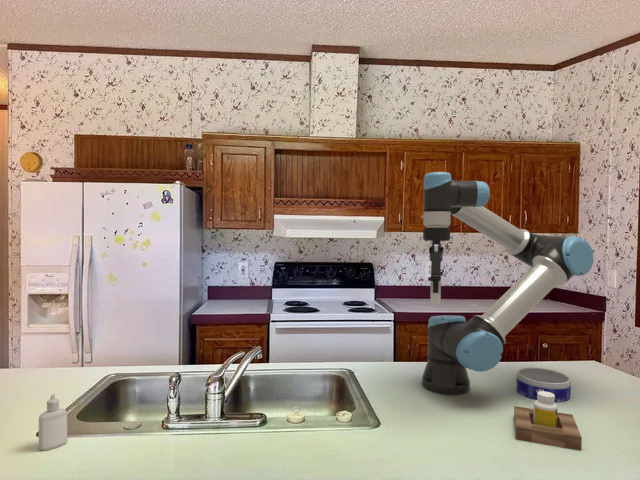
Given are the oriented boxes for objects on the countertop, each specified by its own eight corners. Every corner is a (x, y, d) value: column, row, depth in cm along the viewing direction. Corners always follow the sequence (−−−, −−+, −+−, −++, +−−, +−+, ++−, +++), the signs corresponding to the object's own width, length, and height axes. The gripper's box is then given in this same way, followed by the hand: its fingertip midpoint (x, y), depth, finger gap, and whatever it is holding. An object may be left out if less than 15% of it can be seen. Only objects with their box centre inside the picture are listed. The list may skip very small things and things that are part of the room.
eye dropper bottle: (65, 448, 103) (64, 396, 103) (36, 452, 101) (36, 399, 101) (68, 439, 107) (68, 390, 107) (41, 443, 105) (41, 392, 105)
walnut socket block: (514, 416, 123) (514, 406, 123) (572, 425, 118) (572, 414, 118) (516, 439, 110) (516, 427, 110) (581, 450, 105) (581, 437, 105)
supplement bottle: (559, 437, 111) (560, 398, 111) (536, 435, 112) (537, 396, 112) (553, 428, 116) (554, 390, 116) (530, 426, 117) (531, 389, 117)
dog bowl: (569, 390, 144) (570, 371, 144) (571, 407, 131) (571, 386, 131) (518, 382, 151) (518, 364, 151) (514, 397, 138) (515, 378, 138)
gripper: (424, 226, 142) (423, 293, 142) (421, 226, 118) (420, 307, 118) (449, 226, 140) (448, 294, 140) (451, 227, 116) (450, 309, 116)
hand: (435, 300), depth 129 cm, fingers open, 13 cm apart
